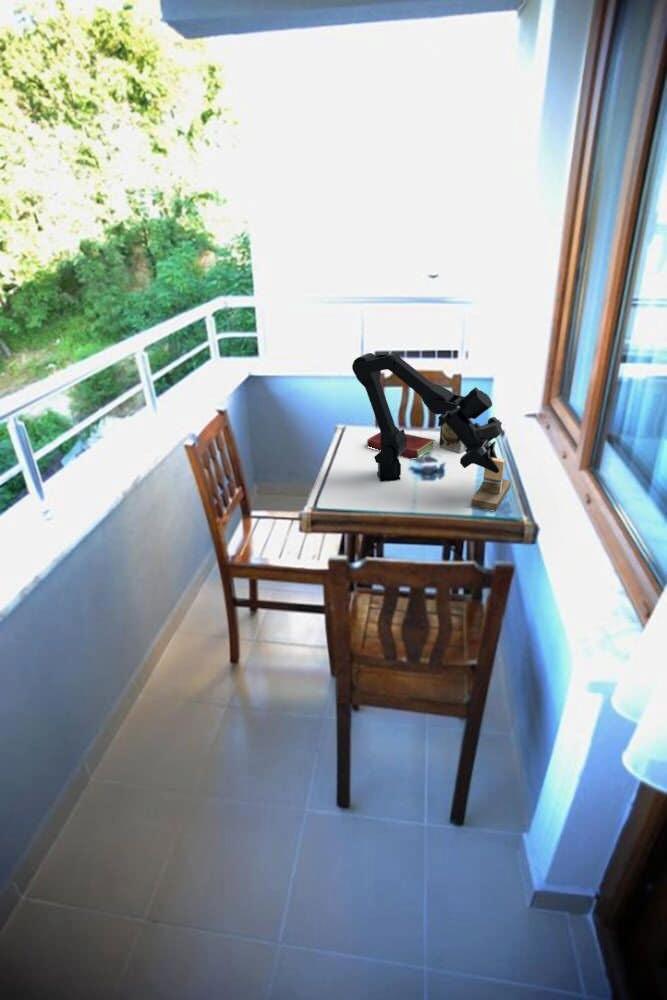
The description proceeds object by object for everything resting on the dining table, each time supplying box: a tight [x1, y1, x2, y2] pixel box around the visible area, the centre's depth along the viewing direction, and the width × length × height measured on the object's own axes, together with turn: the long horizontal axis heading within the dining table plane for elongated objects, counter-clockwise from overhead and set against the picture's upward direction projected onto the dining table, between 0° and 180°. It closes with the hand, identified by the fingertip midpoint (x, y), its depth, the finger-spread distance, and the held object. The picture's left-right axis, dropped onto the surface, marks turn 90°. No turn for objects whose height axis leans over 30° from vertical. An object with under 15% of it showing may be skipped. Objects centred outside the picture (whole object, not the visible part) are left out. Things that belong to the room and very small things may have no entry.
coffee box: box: [438, 406, 473, 454], centre depth 176 cm, size 9×6×16 cm
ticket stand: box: [470, 478, 512, 512], centre depth 145 cm, size 7×16×6 cm, turn 149°
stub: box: [483, 457, 506, 482], centre depth 142 cm, size 5×2×6 cm, turn 59°
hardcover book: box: [366, 432, 436, 459], centre depth 181 cm, size 12×21×4 cm, turn 52°
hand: (499, 470), depth 141 cm, fingers closed on stub, 2 cm apart
